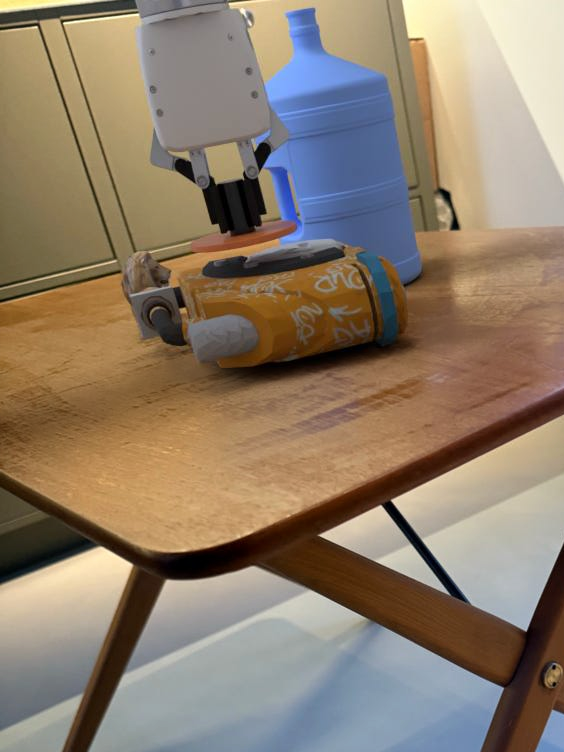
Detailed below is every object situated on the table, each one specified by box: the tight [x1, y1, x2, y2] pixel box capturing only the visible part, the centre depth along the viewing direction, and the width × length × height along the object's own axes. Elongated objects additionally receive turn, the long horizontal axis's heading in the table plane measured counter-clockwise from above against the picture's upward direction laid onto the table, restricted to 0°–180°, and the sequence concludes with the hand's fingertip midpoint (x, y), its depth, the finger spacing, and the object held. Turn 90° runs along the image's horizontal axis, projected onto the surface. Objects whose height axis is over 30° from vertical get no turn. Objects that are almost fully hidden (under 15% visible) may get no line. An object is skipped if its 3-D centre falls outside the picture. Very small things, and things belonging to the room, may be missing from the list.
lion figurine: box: [120, 250, 172, 340], centre depth 117 cm, size 15×5×9 cm, turn 24°
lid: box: [189, 177, 297, 254], centre depth 96 cm, size 10×10×5 cm
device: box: [130, 239, 409, 369], centre depth 100 cm, size 23×8×30 cm
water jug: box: [253, 6, 423, 286], centre depth 115 cm, size 16×16×28 cm
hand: (241, 226), depth 97 cm, fingers closed on lid, 2 cm apart
